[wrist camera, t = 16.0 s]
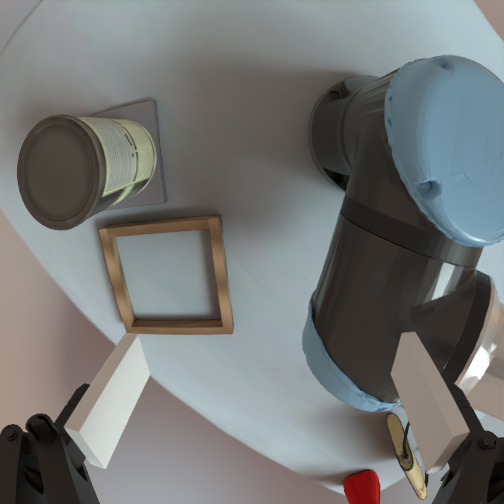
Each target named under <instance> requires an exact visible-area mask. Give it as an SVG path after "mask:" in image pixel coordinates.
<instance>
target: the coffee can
mask: <svg viewBox="0 0 504 504" xmlns="http://www.w3.org/2000/svg"><path fill="white" fill-rule="evenodd" d="M156 162H157V153H156V147H155V143H154V141H153V139H152V137H151V135H150V134H149V132H148V131H147V130H146V129H145V128H144V127H143V126H142V125H140V124H138V123H137V122H135V121H131V120H127V119H119V120H118V119H105V118H89V117H73V116H69V115H54V116H50V117H48V118H46V119H44V120H42V121H41V122H39V123H38V124H37V125H36V126H35V127H34V128H33V129H32V130H31V131H30V132H29V134H28V135H27V137H26V139H25V141H24V143H23V145H22V147H21V150H20V154H19V159H18V166H17V180H18V186H19V191H20V194H21V197H22V200H23V202H24V204H25V206H26V208H27V210H28V211H29V212H30V214H31V215H32V216H33V217H34V218H35V219H36V220H37V221H38V222H39V223H41V224H42V225H44V226H46V227H47V228H50V229H54V230H68V229H72V228H74V227H76V226H78V225H79V224H81V223H83V222H84V221H85V220H86V219H88V218H90V217H91V216H93V215H95V214H97V213H99V212H101V211H103V210H105V209H106V208H108V207H110V206H112V205H114V204H116V203H118V202H120V201H122V200H124V199H126V198H128V197H131V196H134V195H136V194H138V193H139V192H141V191H142V190H143V189H144V188H145V187H146V186H147V185H148V183H149V182H150V180H151V179H152V177H153V174H154V172H155V168H156Z"/></svg>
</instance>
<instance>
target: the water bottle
mask: <svg viewBox="0 0 504 504" xmlns="http://www.w3.org/2000/svg"><path fill="white" fill-rule="evenodd" d="M343 487H344V492H345V495H346V497H347V499H348V502H349V504H380V483H379V479H378V476H377V474H376V472H374V471H370V470H366V471H364V472H361V473H358V474H355V475H351V476H348V477H347V478H346V479H345V480H344V483H343Z"/></svg>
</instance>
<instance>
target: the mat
mask: <svg viewBox="0 0 504 504" xmlns="http://www.w3.org/2000/svg"><path fill="white" fill-rule="evenodd" d="M88 117H89V118H105V119H118V120H119V119H127V120H131V121H135V122H137V123H138V124H140V125H142V126H143V127H144V128H145V129H146V130H147V131H148V132H149V134H150V135H151V137H152V139H153V141H154V143H155V147H156V153H157V162H156V168H155V172H154V174H153V177H152V179H151V180H150V182H149V183H148V185H147V186H146V187H145V188H144V189H143V190H142V191H141V192H139V193H138V194H136V195H134V196H131V197H128V198H126V199H124V200H122V201H120V202H118V203H116V204H114V205H112V206H110V207H108V208H106V209H105V210H112V209H119V208H127V207H135V206H143V205H152V204H160V203H165V202H167V199H166V192H165V184H164V176H163V168H162V159H161V150H160V141H159V130H158V119H157V107H156V101H155V100H151V101H146V102H141V103H137V104H133V105H128V106H124V107H120V108H116V109H113V110H109V111H105V112H101V113H98V114H94V115H91V116H88ZM103 211H104V210H103Z"/></svg>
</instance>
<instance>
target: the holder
mask: <svg viewBox="0 0 504 504" xmlns="http://www.w3.org/2000/svg"><path fill="white" fill-rule="evenodd" d="M204 229H209V230H210V238H211V246H212V254H213V261H214V269H215V276H216V283H217V290H218V297H219V304H220V311H221V317H222V320H136V318H135V314H134V311H133V307H132V304H131V300H130V297H129V293H128V289H127V285H126V281H125V277H124V273H123V269H122V265H121V261H120V257H119V252H118V248H117V243H116V238H115V237H119V236H130V235H142V234H153V233H165V232H178V231H191V230H204ZM99 233H100V237H101V242H102V246H103V251H104V255H105V259H106V263H107V267H108V271H109V275H110V279H111V282H112V286H113V290H114V293H115V297H116V300H117V304H118V307H119V310H120V313H121V317H122V320H123V323H124V326H125V329H126V332H127V333H133V334H171V335H212V334H233V329H234V323H233V315H232V307H231V300H230V292H229V284H228V275H227V267H226V259H225V250H224V241H223V232H222V223H221V215H209V216H197V217H185V218H174V219H163V220H153V221H143V222H133V223H123V224H114V225H106V226H104V227H102V228H101V229H99Z"/></svg>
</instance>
